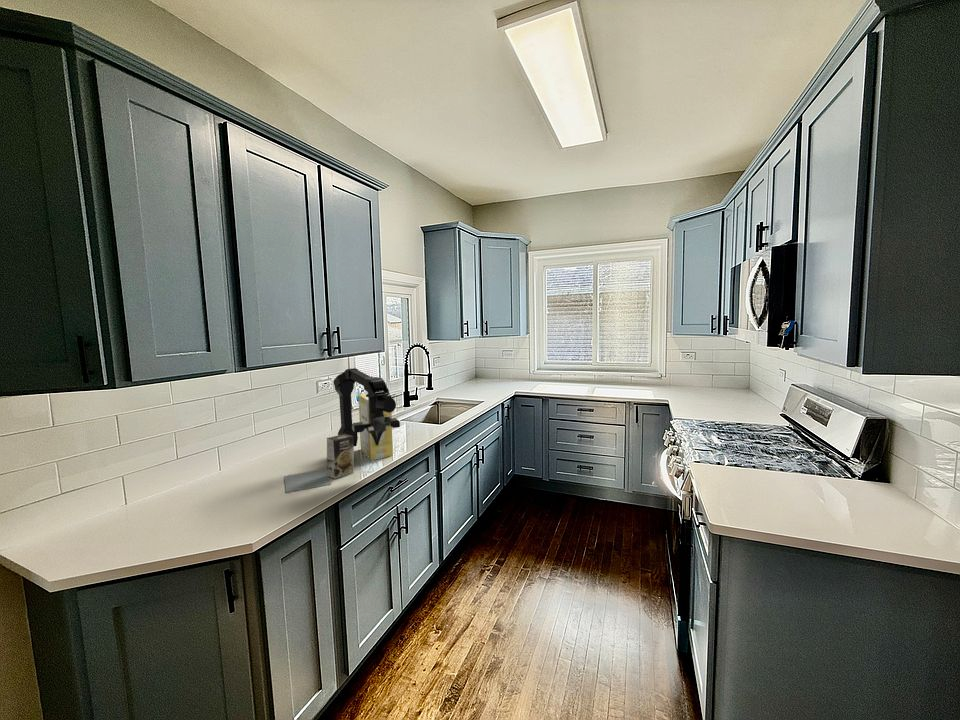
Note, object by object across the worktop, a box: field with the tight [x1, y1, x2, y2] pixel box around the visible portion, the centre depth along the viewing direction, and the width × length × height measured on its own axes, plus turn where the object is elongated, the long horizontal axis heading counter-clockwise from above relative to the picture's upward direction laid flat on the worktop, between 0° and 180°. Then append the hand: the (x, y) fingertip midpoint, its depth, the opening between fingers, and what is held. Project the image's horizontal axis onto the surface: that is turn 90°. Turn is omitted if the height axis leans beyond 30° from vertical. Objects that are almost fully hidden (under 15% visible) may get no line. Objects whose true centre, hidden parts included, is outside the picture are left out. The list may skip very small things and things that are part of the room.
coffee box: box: [326, 434, 355, 480], centre depth 167 cm, size 9×6×16 cm
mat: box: [284, 468, 332, 494], centre depth 162 cm, size 18×16×1 cm
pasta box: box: [358, 393, 394, 461], centre depth 194 cm, size 18×10×28 cm, turn 31°
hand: (376, 445), depth 166 cm, fingers closed
